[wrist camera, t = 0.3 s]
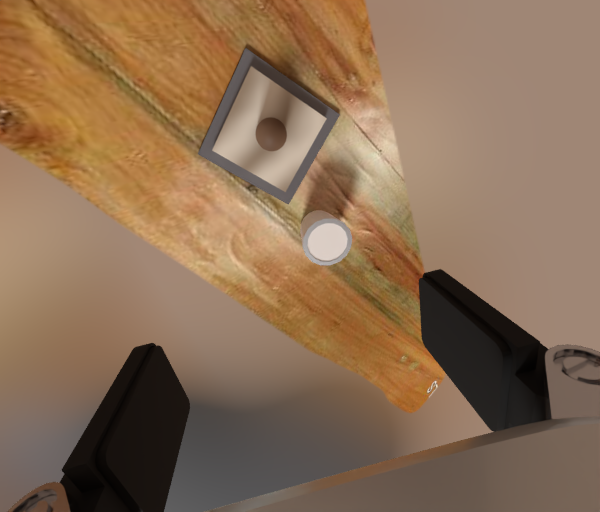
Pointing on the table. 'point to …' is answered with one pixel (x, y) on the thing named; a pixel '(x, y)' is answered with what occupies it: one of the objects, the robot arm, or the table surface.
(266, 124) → the lid
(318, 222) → the white cup
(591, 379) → the robot arm
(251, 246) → the table surface
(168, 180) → the table surface
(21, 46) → the table surface
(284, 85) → the mat
